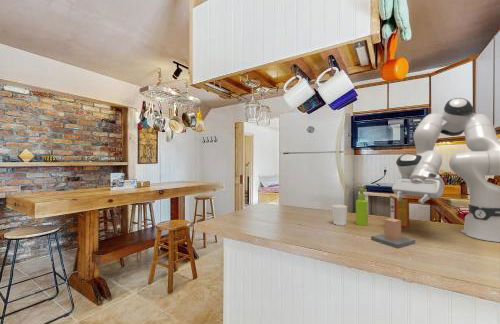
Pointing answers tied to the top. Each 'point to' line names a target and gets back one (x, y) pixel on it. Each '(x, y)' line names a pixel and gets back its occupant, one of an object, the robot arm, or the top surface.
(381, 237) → the slate coaster
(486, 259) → the top surface
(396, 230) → the terracotta block
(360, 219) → the soap dispenser
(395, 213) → the baking soda box
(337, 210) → the white cup
